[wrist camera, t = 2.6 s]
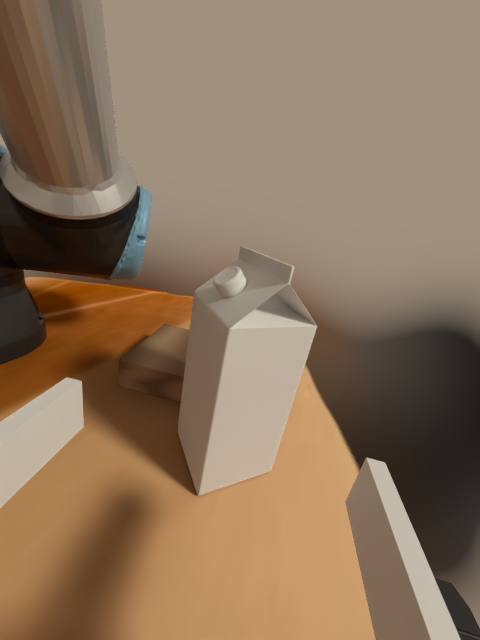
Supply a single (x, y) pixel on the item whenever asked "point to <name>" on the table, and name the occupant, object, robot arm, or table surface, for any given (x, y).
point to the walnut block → (157, 364)
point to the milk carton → (241, 370)
